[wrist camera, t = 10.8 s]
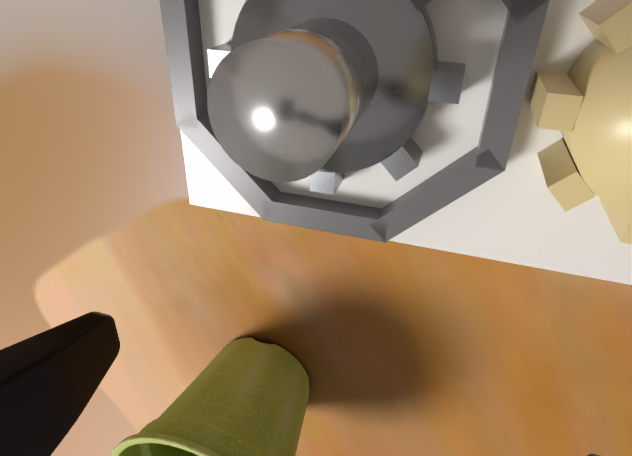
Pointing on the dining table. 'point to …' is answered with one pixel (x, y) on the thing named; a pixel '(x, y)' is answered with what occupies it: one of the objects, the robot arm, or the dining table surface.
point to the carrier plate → (461, 139)
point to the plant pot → (232, 408)
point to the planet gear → (327, 87)
